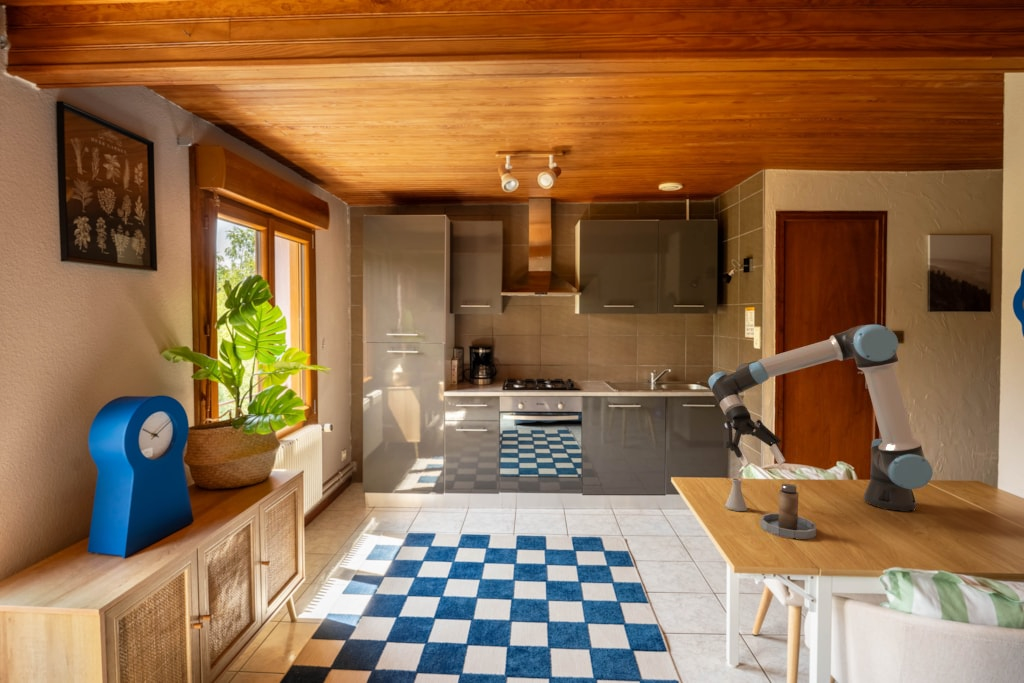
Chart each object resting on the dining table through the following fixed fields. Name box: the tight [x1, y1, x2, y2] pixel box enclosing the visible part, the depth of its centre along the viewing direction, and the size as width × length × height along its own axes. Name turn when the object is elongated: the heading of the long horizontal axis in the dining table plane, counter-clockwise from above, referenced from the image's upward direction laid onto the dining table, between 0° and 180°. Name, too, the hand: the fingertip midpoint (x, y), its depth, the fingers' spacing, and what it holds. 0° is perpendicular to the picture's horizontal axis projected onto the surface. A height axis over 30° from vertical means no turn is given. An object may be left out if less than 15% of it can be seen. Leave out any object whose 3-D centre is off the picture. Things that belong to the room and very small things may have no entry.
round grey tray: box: [760, 512, 817, 540], centre depth 164 cm, size 15×15×2 cm
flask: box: [724, 477, 748, 512], centre depth 183 cm, size 7×7×10 cm
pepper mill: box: [778, 483, 799, 530], centre depth 164 cm, size 5×5×13 cm
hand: (765, 464), depth 174 cm, fingers open, 13 cm apart
